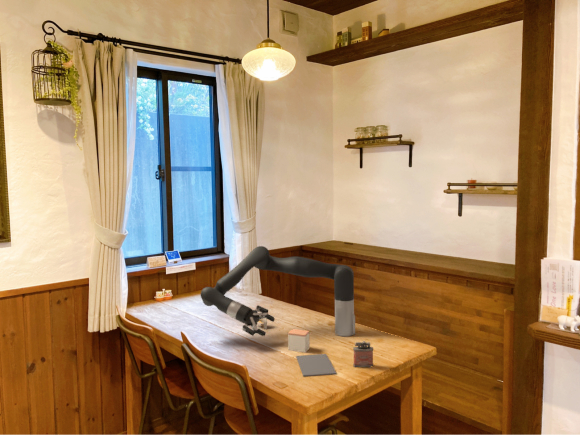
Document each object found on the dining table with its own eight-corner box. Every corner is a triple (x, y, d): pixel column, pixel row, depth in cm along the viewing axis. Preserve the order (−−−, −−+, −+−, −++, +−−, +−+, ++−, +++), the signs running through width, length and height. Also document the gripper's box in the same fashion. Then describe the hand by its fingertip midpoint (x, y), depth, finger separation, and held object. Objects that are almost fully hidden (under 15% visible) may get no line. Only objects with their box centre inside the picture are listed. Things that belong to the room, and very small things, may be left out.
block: (288, 350, 197) (288, 332, 196) (293, 345, 202) (292, 328, 201) (305, 352, 194) (304, 335, 193) (309, 348, 199) (309, 330, 198)
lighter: (372, 363, 181) (372, 340, 180) (374, 367, 178) (374, 343, 177) (352, 364, 181) (352, 340, 180) (354, 368, 177) (354, 343, 177)
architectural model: (261, 330, 224) (261, 316, 224) (254, 327, 230) (254, 313, 229) (267, 329, 226) (267, 315, 225) (260, 325, 232) (260, 312, 231)
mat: (326, 354, 191) (326, 353, 191) (336, 374, 172) (336, 372, 172) (296, 357, 189) (296, 355, 189) (303, 376, 171) (303, 375, 170)
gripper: (246, 305, 212) (276, 320, 208) (230, 327, 202) (261, 343, 198) (247, 295, 207) (277, 311, 203) (230, 318, 197) (262, 334, 193)
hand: (269, 327), depth 200 cm, fingers open, 8 cm apart
